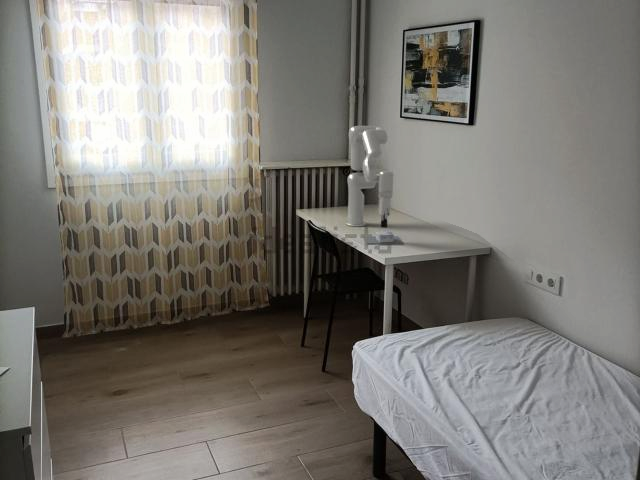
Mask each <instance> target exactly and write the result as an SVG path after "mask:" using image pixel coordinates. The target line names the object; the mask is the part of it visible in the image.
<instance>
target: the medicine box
mask: <svg viewBox="0 0 640 480" xmlns="http://www.w3.org/2000/svg"><path fill="white" fill-rule="evenodd" d="M375 236H376V239H377V240H378V241H379V242H380V243H387V242H394V236H395V235H394V233H393V232H391V231H390V230H387V231H386V230H383V231H381V230H380V231H376V232H375Z"/></svg>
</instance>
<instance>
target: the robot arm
mask: <svg viewBox="0 0 640 480" xmlns="http://www.w3.org/2000/svg"><path fill="white" fill-rule="evenodd" d="M348 140H349V144H350V169H351V170H353V171H357V172H353V173H350V174H349V175H348V176H347V186H348V190H347V191H348V204H347V206H348V207H347V220H346V221H345V222H344V224H345V225H346V226H349V227H364V226H365V227H366V225H367V223H366V222H365V221H364V214H365V211H364V210H365V194H364V193H363V191H362V190H363V189H373V188H375V187H376V184H377V183H378V199H379V200H378V209H377V211H378V212H377V213H378V214H379V215H380V217H381V218H380V220H381V221H380V227H381V228H384V229H385V228H386V229H387V228H388V219H389V218H388V217H389V216H390V215H391V201H392V200H391V199H392V198H393V195H394V194H393V192H394V191H393V189H394V172H393V171H391V170H389V169H388V168H378V160H377V159H378V158H379V157H381V156H382V155H383V154H382V148H381V145H385V144H386V143H387V142H388V134H387V132H386V130H385V129H384V128H382V127H379V126H377V125H355V126H354V125H353V126H351V127H350V128H349V130H348ZM358 171H362V172H358Z"/></svg>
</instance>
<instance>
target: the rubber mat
mask: <svg viewBox="0 0 640 480" xmlns="http://www.w3.org/2000/svg"><path fill="white" fill-rule="evenodd" d="M363 240H364V242H365V243H366V245H405V242H404V241H403V240H402V239H401V238H400V236H396V235H394V242H387V243H380V242H379V241H378V240H377V239H376V235H375V236H371V235H370V236H364V235H363Z"/></svg>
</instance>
